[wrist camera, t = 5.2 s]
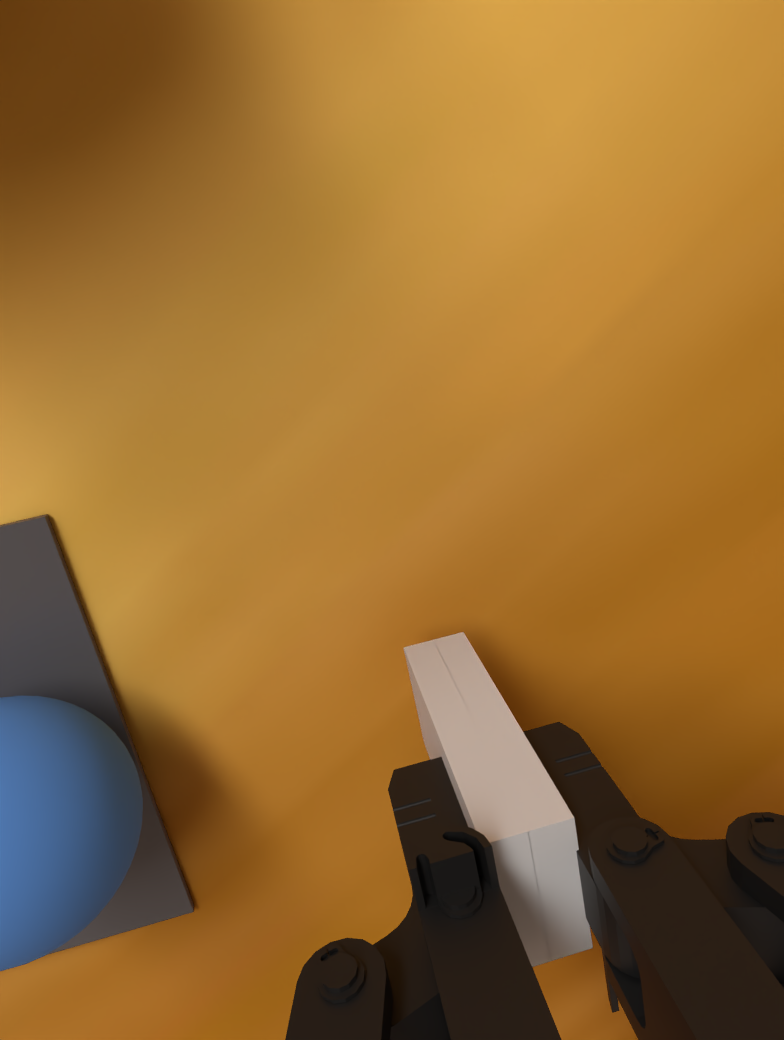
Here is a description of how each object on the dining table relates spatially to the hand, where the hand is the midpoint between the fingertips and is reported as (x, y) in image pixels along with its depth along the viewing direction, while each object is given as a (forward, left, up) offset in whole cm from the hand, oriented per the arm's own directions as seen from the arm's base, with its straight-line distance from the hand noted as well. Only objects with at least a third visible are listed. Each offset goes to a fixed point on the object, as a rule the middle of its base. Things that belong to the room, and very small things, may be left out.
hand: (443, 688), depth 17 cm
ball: (+9, +4, +1) cm, 10 cm away
